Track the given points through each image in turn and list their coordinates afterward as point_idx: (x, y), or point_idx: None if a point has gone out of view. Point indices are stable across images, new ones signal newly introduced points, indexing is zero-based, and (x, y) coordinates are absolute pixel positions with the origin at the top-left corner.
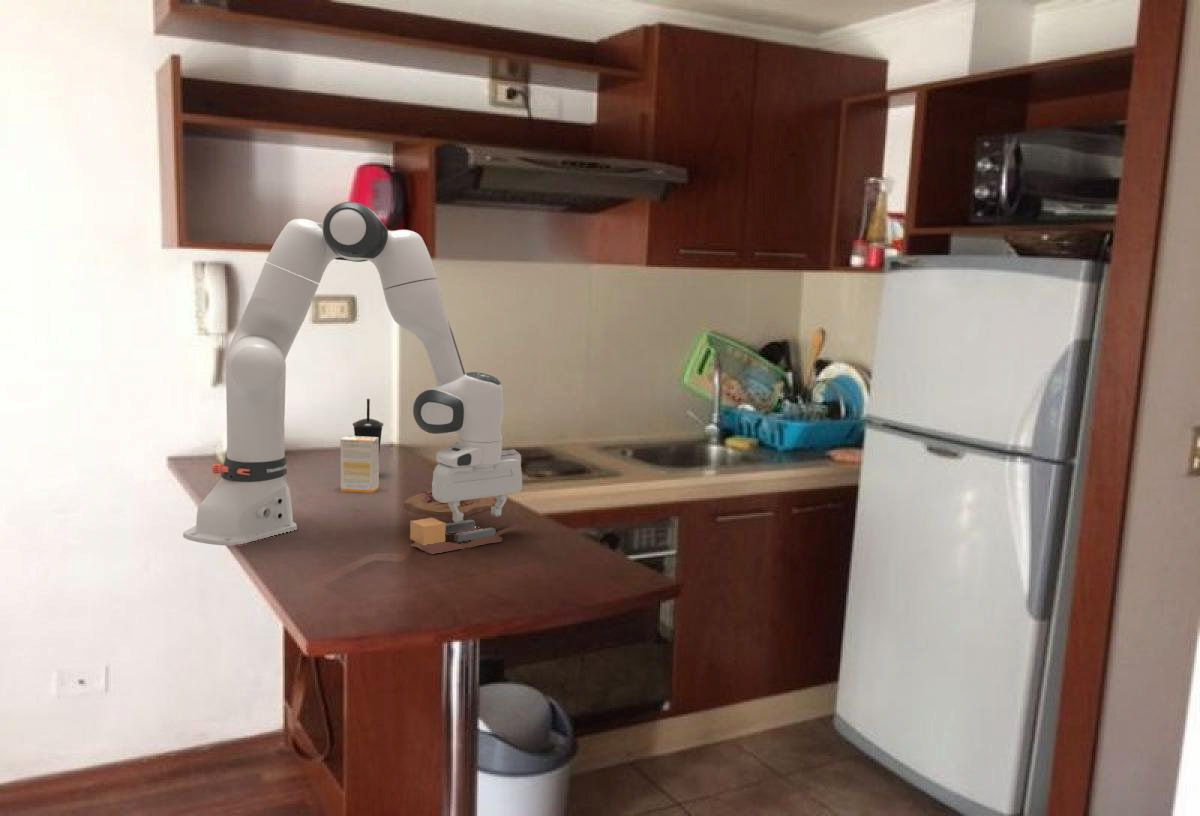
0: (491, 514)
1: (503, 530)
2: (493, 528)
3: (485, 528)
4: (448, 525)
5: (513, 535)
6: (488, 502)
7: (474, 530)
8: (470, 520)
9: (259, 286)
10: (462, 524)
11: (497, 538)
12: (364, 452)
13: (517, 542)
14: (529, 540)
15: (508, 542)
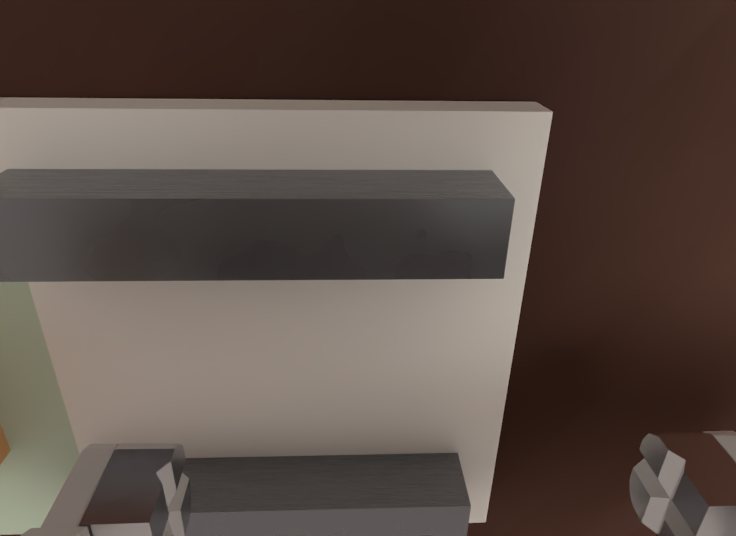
0: (650, 440)
1: (731, 278)
2: (462, 533)
3: (404, 510)
4: (126, 280)
5: (664, 415)
6: None
7: (282, 513)
8: (476, 232)
9: None
10: (326, 271)
11: (514, 418)
12: None
13: (550, 531)
14: (642, 533)
15: (504, 510)
